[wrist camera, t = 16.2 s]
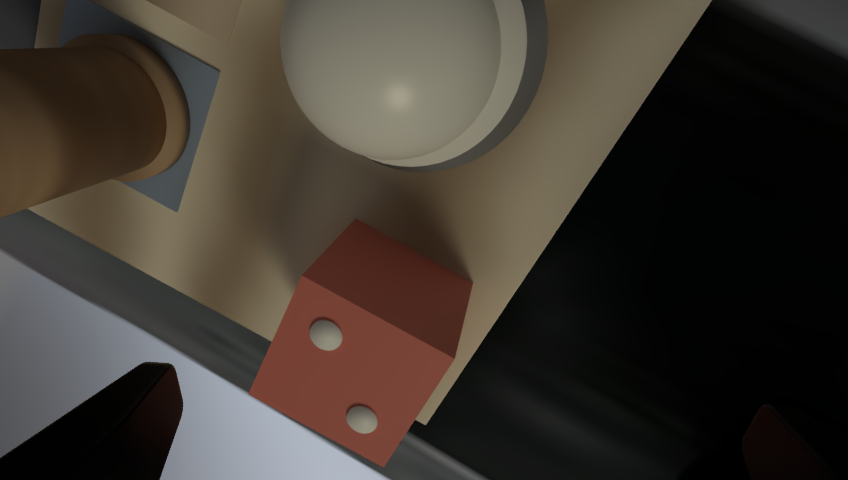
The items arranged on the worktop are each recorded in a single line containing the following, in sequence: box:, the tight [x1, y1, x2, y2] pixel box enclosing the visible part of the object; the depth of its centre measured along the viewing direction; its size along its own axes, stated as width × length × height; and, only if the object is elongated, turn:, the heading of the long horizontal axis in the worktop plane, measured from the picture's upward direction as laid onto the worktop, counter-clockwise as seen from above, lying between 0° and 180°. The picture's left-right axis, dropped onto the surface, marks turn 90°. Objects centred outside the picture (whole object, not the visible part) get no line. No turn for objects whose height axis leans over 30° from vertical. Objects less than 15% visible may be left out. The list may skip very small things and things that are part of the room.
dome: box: [280, 0, 527, 167], centre depth 14 cm, size 7×7×6 cm
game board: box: [27, 0, 712, 425], centre depth 18 cm, size 20×25×2 cm
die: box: [249, 218, 473, 467], centre depth 18 cm, size 5×5×5 cm
